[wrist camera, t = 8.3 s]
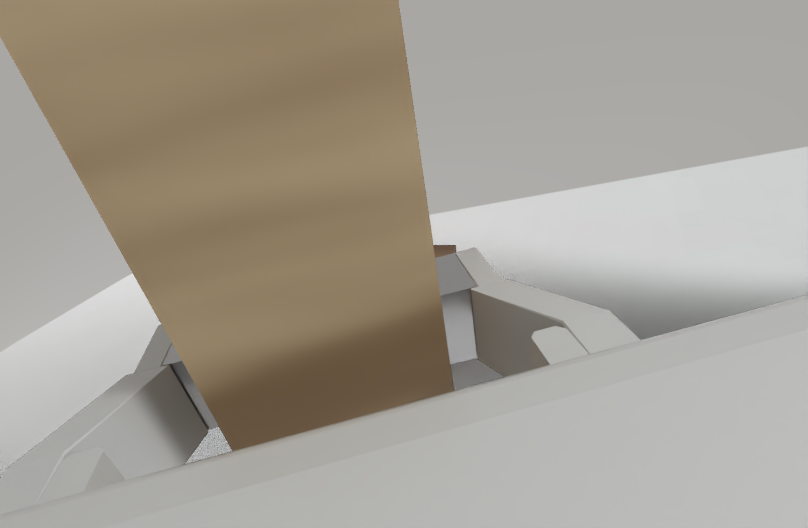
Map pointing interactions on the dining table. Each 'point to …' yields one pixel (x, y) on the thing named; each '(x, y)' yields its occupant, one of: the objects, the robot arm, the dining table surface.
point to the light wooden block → (255, 192)
